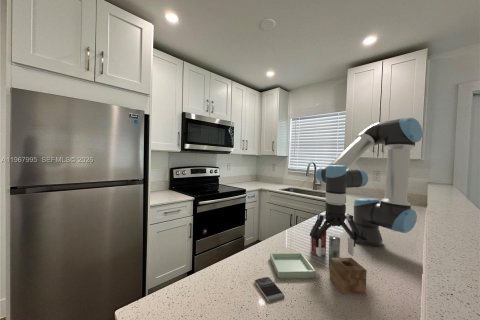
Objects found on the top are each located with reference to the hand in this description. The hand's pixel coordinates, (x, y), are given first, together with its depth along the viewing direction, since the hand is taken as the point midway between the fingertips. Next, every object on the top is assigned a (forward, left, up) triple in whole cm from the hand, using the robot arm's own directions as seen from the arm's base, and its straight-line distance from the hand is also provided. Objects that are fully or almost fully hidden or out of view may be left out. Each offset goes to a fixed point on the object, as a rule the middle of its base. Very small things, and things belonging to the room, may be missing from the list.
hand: (334, 254), depth 80 cm
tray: (+18, 0, -5) cm, 19 cm away
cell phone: (+30, +13, -6) cm, 33 cm away
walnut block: (+2, +12, -5) cm, 13 cm away
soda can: (+1, -12, -5) cm, 14 cm away
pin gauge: (0, 0, -5) cm, 5 cm away
